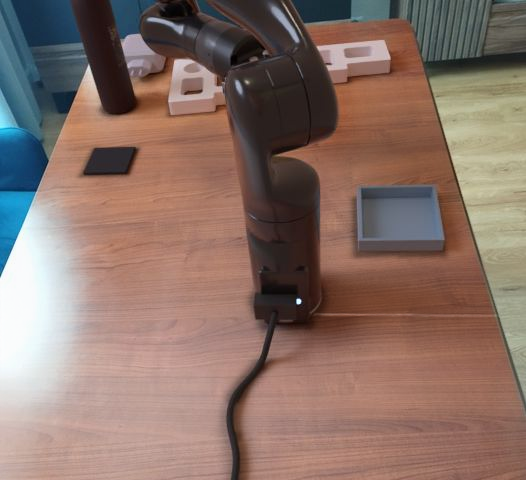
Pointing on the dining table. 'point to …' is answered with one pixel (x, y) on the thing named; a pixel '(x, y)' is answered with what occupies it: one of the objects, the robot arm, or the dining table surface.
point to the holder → (340, 55)
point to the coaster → (109, 160)
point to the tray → (399, 218)
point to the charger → (141, 57)
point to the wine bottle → (104, 54)
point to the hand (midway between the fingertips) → (304, 90)
